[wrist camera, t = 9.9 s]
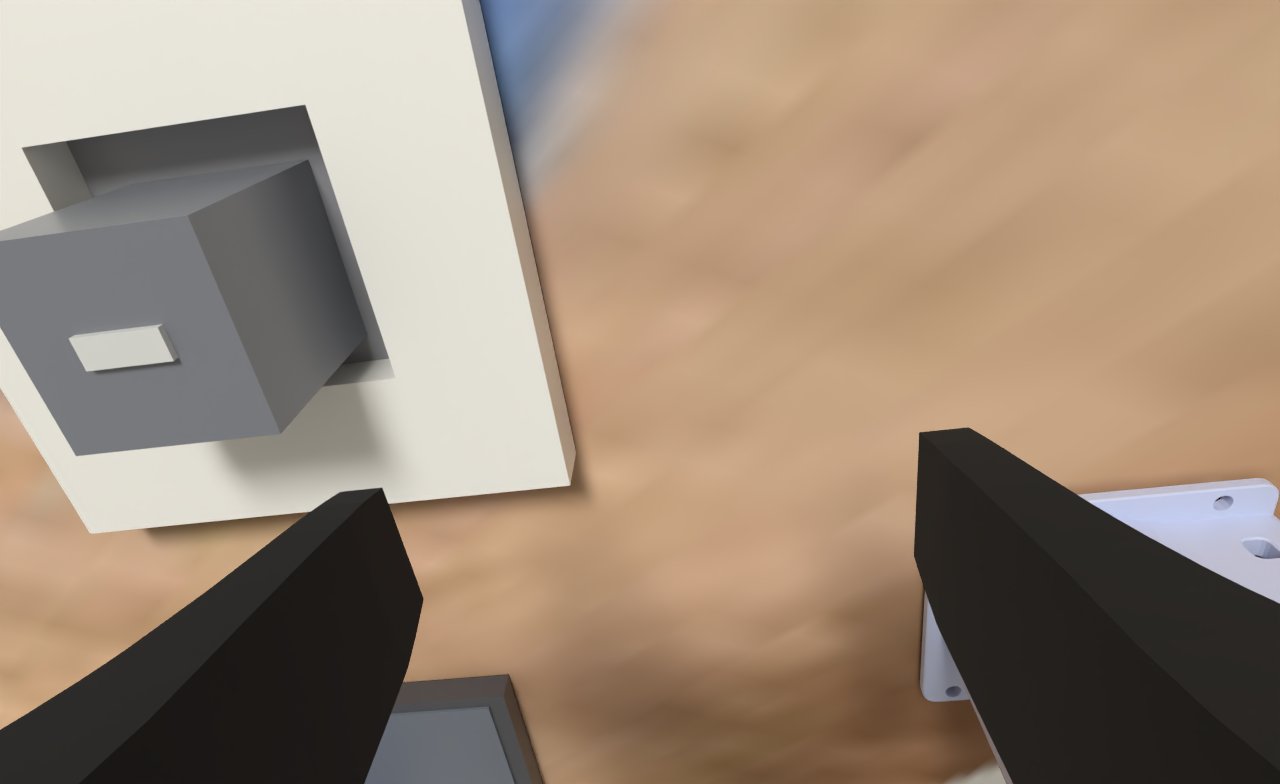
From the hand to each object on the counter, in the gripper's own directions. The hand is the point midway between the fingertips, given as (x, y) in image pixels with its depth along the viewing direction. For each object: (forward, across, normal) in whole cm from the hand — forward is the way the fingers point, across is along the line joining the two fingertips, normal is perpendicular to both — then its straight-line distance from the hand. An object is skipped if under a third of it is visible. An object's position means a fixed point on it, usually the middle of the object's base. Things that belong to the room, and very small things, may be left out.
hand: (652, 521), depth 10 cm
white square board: (+10, +10, -2) cm, 14 cm away
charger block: (+10, +10, -2) cm, 14 cm away
